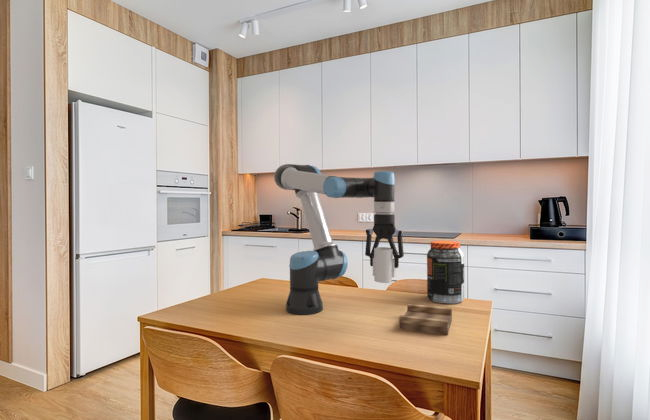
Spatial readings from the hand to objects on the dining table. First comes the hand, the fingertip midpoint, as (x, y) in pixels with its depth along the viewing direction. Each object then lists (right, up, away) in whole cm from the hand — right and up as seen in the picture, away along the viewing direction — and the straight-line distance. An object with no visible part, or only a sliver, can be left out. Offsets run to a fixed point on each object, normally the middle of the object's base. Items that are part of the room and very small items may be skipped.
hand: (384, 275), depth 141 cm
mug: (0, -2, 0) cm, 2 cm away
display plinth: (+14, -17, -4) cm, 23 cm away
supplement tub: (+32, -16, +28) cm, 45 cm away
